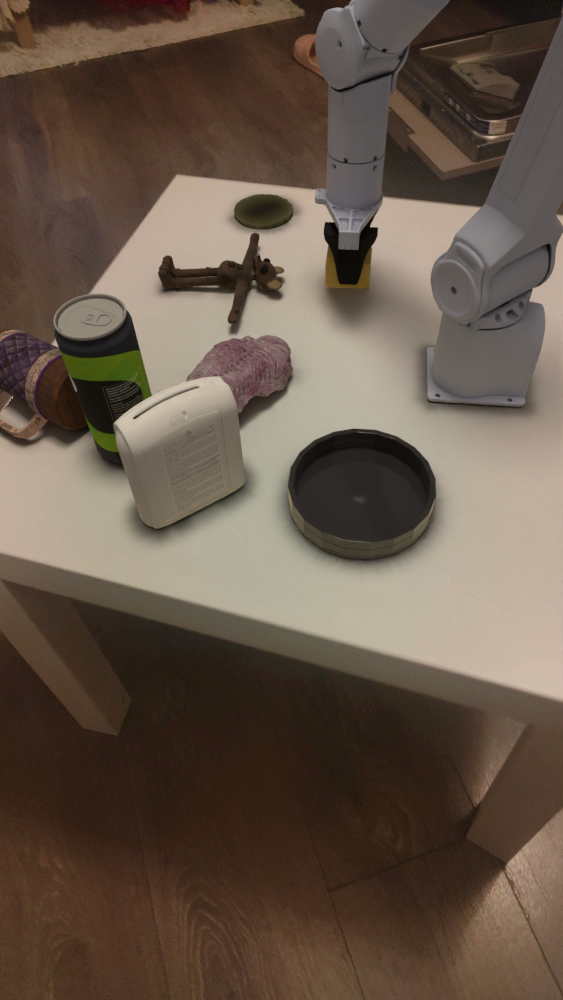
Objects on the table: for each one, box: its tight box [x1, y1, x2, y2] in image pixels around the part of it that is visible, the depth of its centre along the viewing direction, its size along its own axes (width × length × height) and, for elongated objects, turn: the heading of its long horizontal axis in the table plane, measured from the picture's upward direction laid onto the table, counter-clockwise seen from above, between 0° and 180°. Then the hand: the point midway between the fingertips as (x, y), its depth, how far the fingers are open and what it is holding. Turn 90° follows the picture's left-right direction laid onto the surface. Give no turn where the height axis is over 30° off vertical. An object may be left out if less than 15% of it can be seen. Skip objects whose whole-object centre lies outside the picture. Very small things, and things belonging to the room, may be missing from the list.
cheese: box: [324, 245, 373, 290], centre depth 75 cm, size 5×3×3 cm
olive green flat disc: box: [233, 193, 294, 230], centre depth 89 cm, size 8×8×1 cm
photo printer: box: [113, 376, 246, 529], centre depth 55 cm, size 10×4×12 cm, turn 123°
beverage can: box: [52, 292, 153, 465], centre depth 58 cm, size 6×6×15 cm
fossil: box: [185, 334, 294, 415], centre depth 66 cm, size 8×14×5 cm, turn 144°
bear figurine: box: [157, 232, 285, 325], centre depth 78 cm, size 18×4×14 cm
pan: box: [287, 428, 437, 561], centre depth 58 cm, size 13×13×3 cm
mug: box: [0, 328, 88, 439], centre depth 65 cm, size 10×7×12 cm
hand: (349, 272), depth 76 cm, fingers closed on cheese, 3 cm apart
